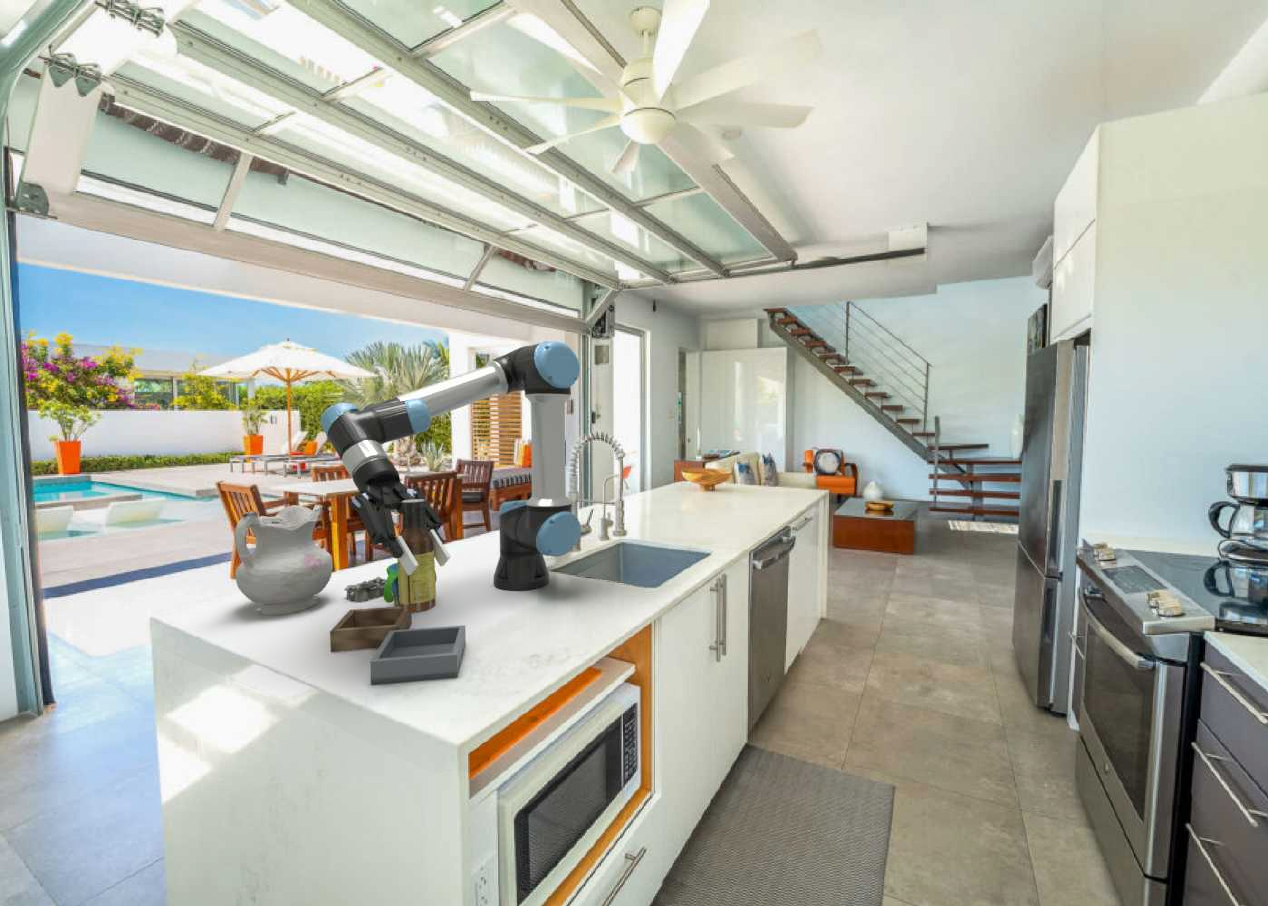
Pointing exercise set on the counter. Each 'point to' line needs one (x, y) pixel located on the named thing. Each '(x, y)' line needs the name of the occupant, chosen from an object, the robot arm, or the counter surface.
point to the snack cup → (393, 585)
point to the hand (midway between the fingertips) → (429, 565)
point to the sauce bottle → (421, 583)
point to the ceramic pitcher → (282, 560)
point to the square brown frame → (367, 627)
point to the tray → (419, 655)
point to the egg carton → (366, 590)
